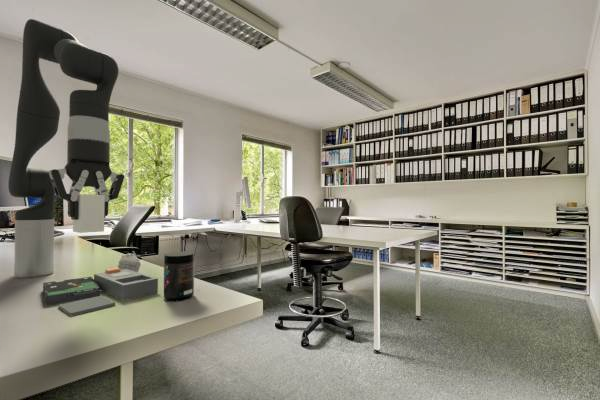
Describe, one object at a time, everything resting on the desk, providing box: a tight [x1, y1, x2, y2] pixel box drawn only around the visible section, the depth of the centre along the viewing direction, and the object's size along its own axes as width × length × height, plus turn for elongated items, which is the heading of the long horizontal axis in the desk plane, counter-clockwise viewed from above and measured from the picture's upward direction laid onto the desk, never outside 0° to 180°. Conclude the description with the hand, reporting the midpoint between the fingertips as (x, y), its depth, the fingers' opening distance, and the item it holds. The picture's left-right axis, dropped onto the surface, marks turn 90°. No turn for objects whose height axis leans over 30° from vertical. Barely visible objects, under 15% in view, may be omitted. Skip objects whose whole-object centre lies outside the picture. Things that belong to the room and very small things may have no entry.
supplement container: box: [163, 251, 195, 302], centre depth 71 cm, size 7×7×10 cm
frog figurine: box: [117, 253, 142, 273], centre depth 91 cm, size 6×7×7 cm
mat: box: [57, 295, 116, 317], centre depth 64 cm, size 8×8×1 cm
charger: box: [72, 193, 105, 234], centre depth 65 cm, size 4×4×8 cm
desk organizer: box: [93, 267, 159, 301], centre depth 79 cm, size 24×8×4 cm, turn 53°
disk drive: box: [42, 276, 101, 307], centre depth 74 cm, size 10×3×15 cm
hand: (88, 218), depth 65 cm, fingers closed on charger, 4 cm apart
